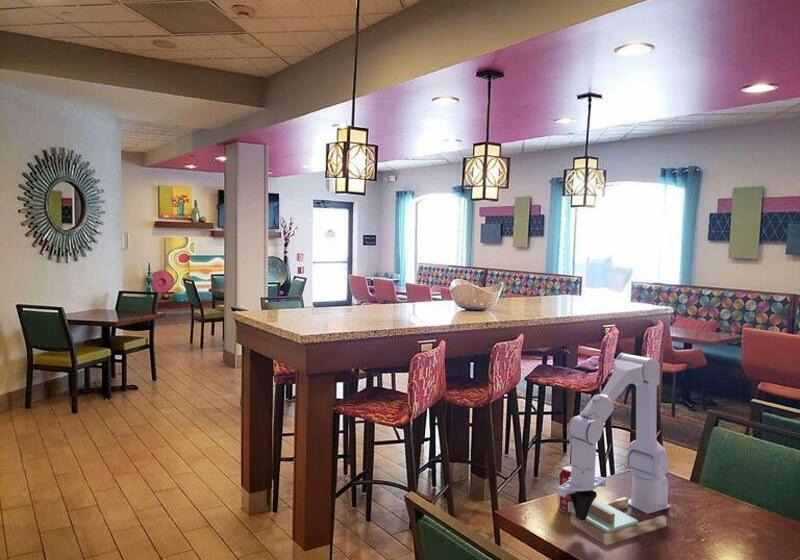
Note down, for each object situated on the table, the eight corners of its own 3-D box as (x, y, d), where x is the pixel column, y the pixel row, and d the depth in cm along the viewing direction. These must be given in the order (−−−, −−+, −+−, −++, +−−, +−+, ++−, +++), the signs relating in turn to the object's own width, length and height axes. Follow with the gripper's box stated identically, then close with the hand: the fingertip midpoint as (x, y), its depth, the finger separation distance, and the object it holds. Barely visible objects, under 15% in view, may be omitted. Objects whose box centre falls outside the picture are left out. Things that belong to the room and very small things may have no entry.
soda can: (585, 517, 153) (586, 473, 152) (558, 514, 154) (560, 471, 154) (582, 506, 160) (583, 464, 159) (557, 503, 161) (558, 461, 160)
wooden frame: (624, 505, 161) (625, 496, 161) (666, 526, 149) (666, 516, 149) (567, 521, 151) (567, 512, 150) (606, 545, 139) (607, 535, 139)
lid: (600, 504, 155) (601, 492, 155) (638, 523, 145) (638, 510, 145) (571, 512, 150) (571, 499, 150) (607, 532, 140) (607, 519, 139)
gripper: (591, 455, 150) (589, 506, 151) (549, 464, 143) (547, 517, 144) (613, 464, 143) (611, 517, 144) (570, 474, 137) (568, 530, 137)
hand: (581, 518), depth 144 cm, fingers closed
